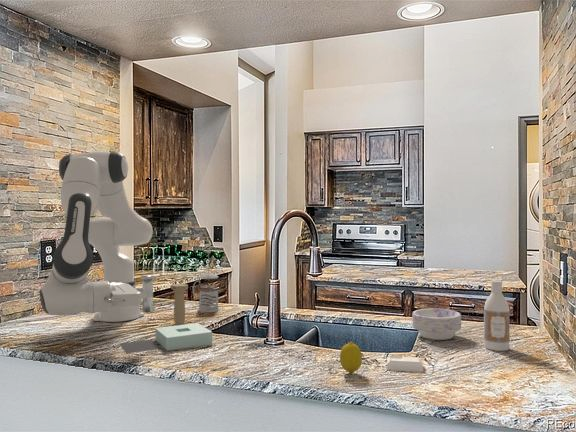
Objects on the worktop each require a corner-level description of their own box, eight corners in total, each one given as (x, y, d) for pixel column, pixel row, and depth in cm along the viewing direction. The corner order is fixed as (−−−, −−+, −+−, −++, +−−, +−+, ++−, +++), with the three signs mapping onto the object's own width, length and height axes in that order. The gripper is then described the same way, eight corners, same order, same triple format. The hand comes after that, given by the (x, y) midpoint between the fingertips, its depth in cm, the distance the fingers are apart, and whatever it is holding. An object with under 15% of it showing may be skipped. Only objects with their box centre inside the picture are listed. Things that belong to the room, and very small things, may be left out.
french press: (218, 312, 201) (218, 250, 201) (190, 312, 201) (190, 251, 201) (222, 307, 211) (222, 249, 211) (195, 307, 211) (194, 249, 211)
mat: (119, 344, 152) (119, 343, 152) (151, 340, 157) (151, 339, 157) (126, 354, 142) (126, 353, 142) (161, 349, 147) (161, 348, 147)
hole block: (155, 340, 157) (155, 328, 157) (197, 334, 164) (197, 322, 164) (167, 351, 145) (167, 337, 145) (212, 344, 151) (212, 331, 151)
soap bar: (423, 373, 125) (423, 362, 125) (387, 371, 127) (387, 361, 127) (421, 367, 130) (421, 357, 130) (387, 365, 132) (387, 355, 132)
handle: (181, 329, 171) (181, 286, 171) (168, 327, 175) (167, 285, 174) (191, 326, 175) (190, 284, 175) (177, 324, 179) (177, 283, 179)
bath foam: (485, 350, 144) (485, 282, 143) (483, 344, 150) (483, 279, 150) (511, 352, 142) (510, 283, 141) (507, 346, 148) (507, 279, 148)
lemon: (338, 370, 126) (337, 339, 126) (359, 369, 127) (359, 338, 127) (342, 377, 121) (342, 345, 121) (364, 376, 121) (364, 344, 121)
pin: (139, 310, 150) (139, 275, 150) (152, 309, 152) (152, 274, 151) (142, 313, 146) (142, 277, 146) (156, 311, 148) (155, 276, 148)
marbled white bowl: (403, 337, 159) (403, 312, 159) (425, 329, 170) (425, 306, 170) (448, 346, 149) (448, 319, 149) (469, 336, 160) (469, 312, 160)
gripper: (107, 290, 133) (159, 286, 140) (97, 281, 152) (143, 277, 158) (108, 313, 134) (159, 308, 140) (98, 301, 152) (143, 297, 158)
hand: (150, 292), depth 149 cm, fingers closed on pin, 3 cm apart
